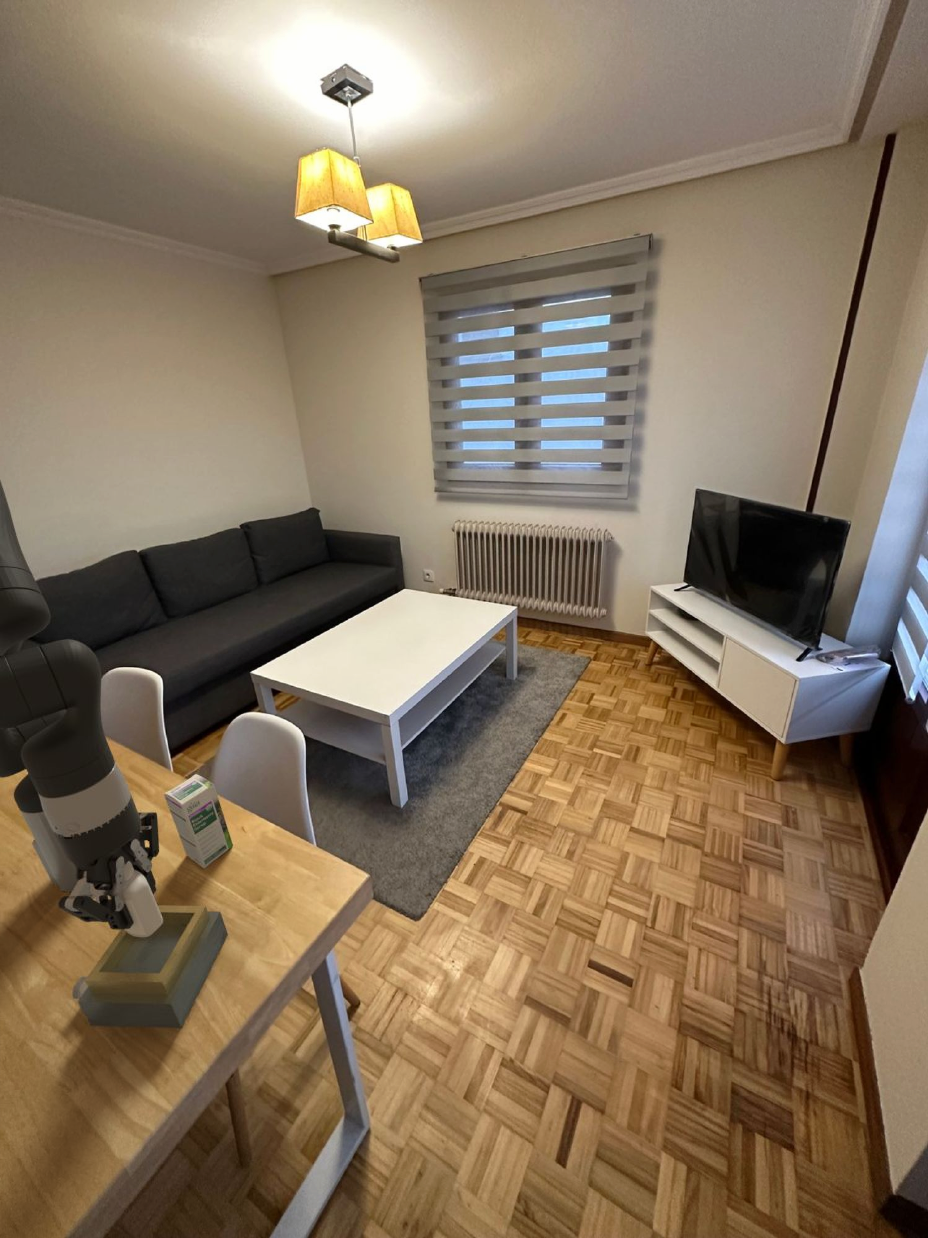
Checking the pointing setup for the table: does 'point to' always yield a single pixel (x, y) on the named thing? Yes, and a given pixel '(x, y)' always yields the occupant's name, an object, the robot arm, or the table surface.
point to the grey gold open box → (153, 971)
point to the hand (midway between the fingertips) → (136, 909)
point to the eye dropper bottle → (140, 903)
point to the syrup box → (199, 820)
